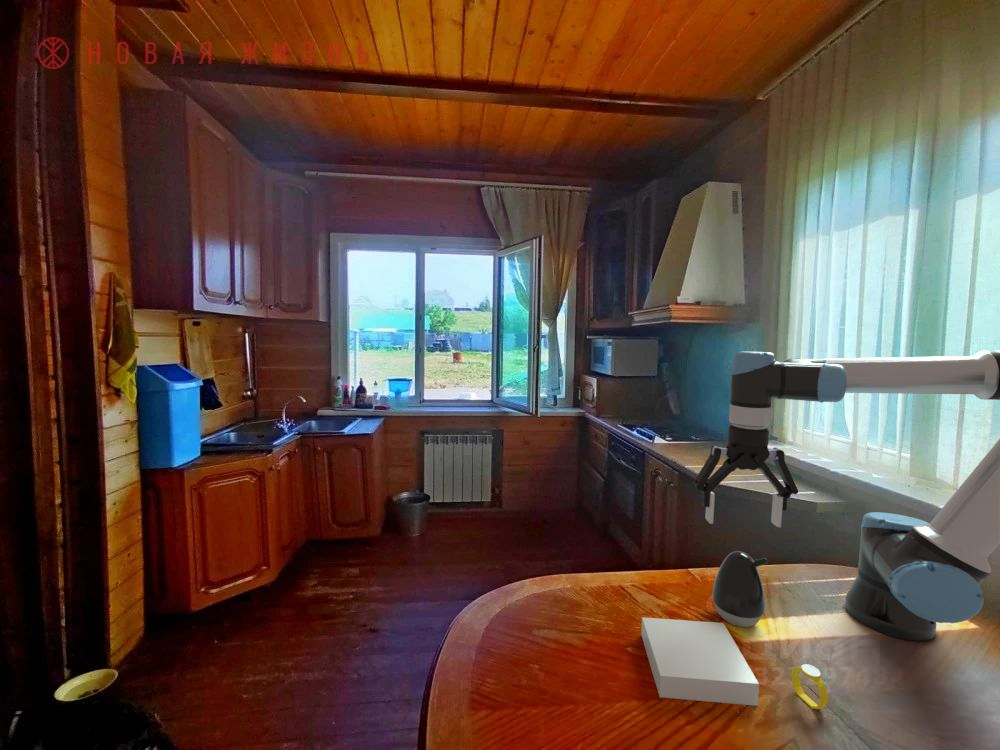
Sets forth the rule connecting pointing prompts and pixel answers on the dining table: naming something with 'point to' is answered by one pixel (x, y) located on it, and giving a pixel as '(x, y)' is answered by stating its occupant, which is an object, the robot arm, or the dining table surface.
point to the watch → (816, 676)
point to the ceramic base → (698, 662)
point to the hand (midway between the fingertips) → (742, 522)
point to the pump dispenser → (739, 590)
